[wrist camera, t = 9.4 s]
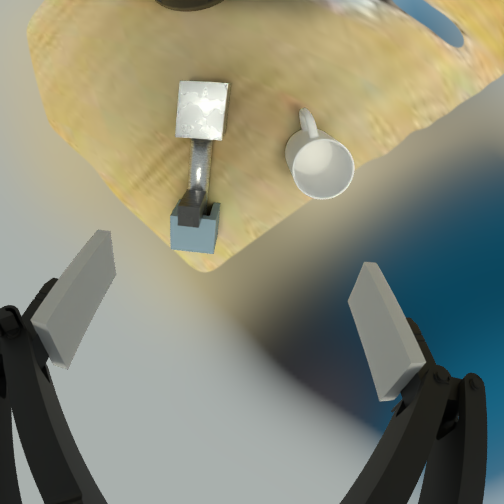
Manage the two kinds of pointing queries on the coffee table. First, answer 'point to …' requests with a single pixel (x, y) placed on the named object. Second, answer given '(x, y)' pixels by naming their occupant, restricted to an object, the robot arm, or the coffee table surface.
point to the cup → (318, 160)
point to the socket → (195, 232)
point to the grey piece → (196, 184)
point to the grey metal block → (202, 109)
